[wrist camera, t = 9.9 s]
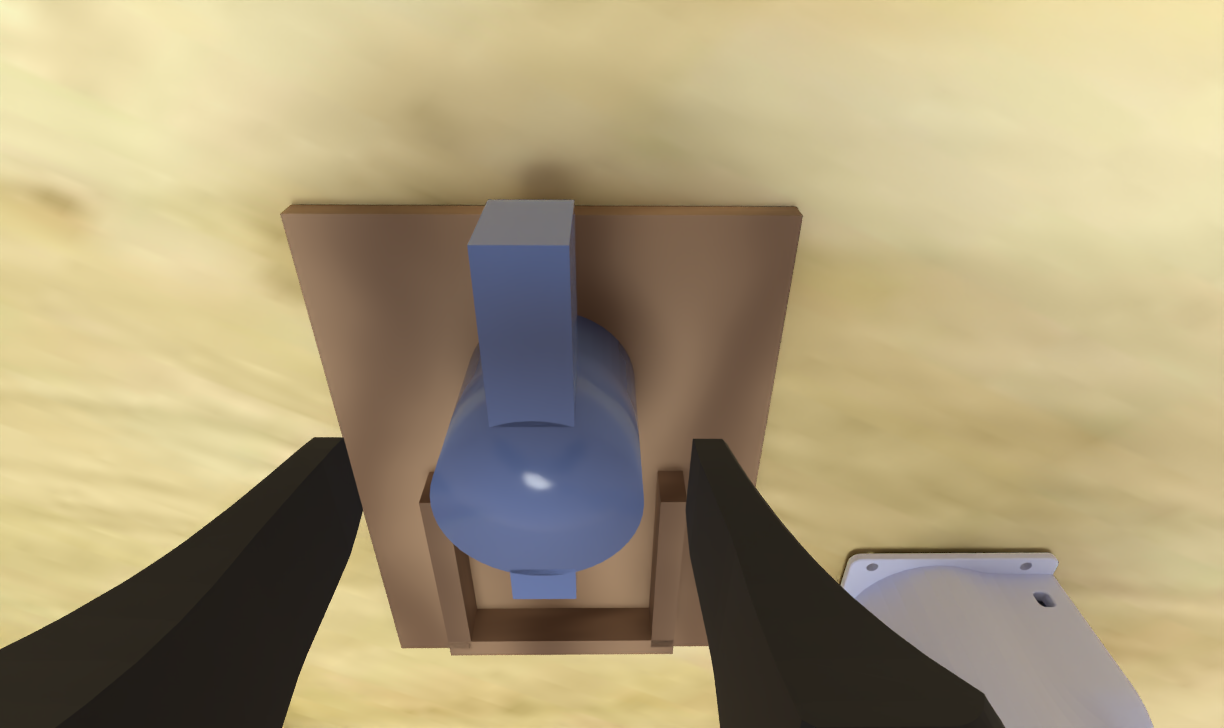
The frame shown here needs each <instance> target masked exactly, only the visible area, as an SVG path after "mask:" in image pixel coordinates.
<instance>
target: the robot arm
mask: <svg viewBox="0 0 1224 728" xmlns="http://www.w3.org/2000/svg"><path fill="white" fill-rule="evenodd" d="M685 511H686V522H687V534H688V544H689V554H690V559H691V564H692V569H693V574H694V578H695V583H696V588H697V593H698V597H699V602H700V607H701V611H702V616H703V621H704V625H705V630H706V635H707V640H708V644H709V649H710V654H711V660H712V665H713V671H714V678H715V687H716V695H717V704H718V713H719V721H720V728H1154V727H1153V724H1152V721H1151V719H1150V717H1149V714H1148V712H1147V710H1146V708H1145V706H1144V704H1143V702H1142V700H1141V698H1140V696H1139V695H1138V693H1137V692H1136V690H1135V689H1134V687H1133V685H1132V684H1131V683H1130V681H1129V680H1128V678H1127V677H1126V676H1125V674H1124V673H1123V671H1122V670H1121V669H1120V667H1119V666H1118V664H1117V663H1116V662H1115V660H1114V659H1113V658H1112V656H1111V655H1110V653H1109V652H1108V651H1107V649H1106V648H1105V646H1104V645H1103V644H1102V642H1101V641H1100V639H1099V638H1098V637H1097V635H1096V634H1095V632H1094V631H1093V630H1092V628H1091V627H1090V625H1089V624H1088V623H1087V621H1086V620H1085V619H1084V617H1083V616H1082V614H1081V613H1080V612H1079V610H1078V609H1077V607H1076V606H1075V605H1074V603H1073V602H1072V600H1071V599H1070V598H1069V596H1068V595H1067V593H1066V592H1065V591H1064V589H1063V588H1062V587H1061V585H1060V584H1059V582H1058V581H1057V580H1056V578H1055V577H1054V575H1053V574H1054V572H1055V570H1056V568H1057V566H1058V564H1059V562H1058V560H1057V558H1056V557H1055V556H1054V555H1053V554H1052V553H872V554H856V555H853V556H852V557H850V558H849V560H848V562H847V566H846V569H845V572H844V575H843V579H842V582H841V585H839V584H838V583H837V582H836V581H835V580H834V579H833V578H832V577H831V576H830V575H829V574H828V573H827V572H826V571H825V570H824V569H823V568H822V567H821V566H820V565H819V564H818V563H817V562H816V561H815V560H814V559H813V558H812V556H811V555H810V554H809V553H808V552H807V551H806V550H805V549H804V548H803V547H802V546H801V544H800V543H799V542H798V541H797V540H796V539H795V537H794V536H793V535H792V534H791V533H790V532H789V530H788V529H787V528H786V527H785V526H784V524H783V523H782V522H781V521H780V519H779V518H778V517H777V516H776V514H775V513H774V512H773V510H772V509H771V508H770V506H769V505H768V504H767V502H766V501H765V500H764V499H763V497H762V496H761V495H760V493H759V492H758V490H757V489H756V488H755V486H754V485H753V483H752V482H751V480H750V479H749V478H748V476H747V475H746V473H745V472H744V470H743V469H742V467H741V466H740V464H739V463H738V461H737V459H736V458H735V456H734V455H733V453H732V451H731V450H730V448H729V446H728V445H727V443H726V442H725V441H724V440H723V439H693V441H692V451H691V461H690V470H689V480H688V490H687V499H686V509H685ZM362 512H363V507H362V503H361V500H360V496H359V492H358V489H357V485H356V481H355V478H354V474H353V470H352V467H351V463H350V459H349V455H348V452H347V448H346V444H345V441H344V438H339V437H314V438H313V439H311V440H310V441H309V442H308V443H306V444H305V445H304V446H303V447H301V448H300V449H299V450H298V451H297V452H295V453H294V454H293V455H292V456H291V457H289V458H288V459H287V460H286V461H285V462H284V463H282V464H281V465H280V466H279V467H278V468H277V469H275V470H274V471H273V472H272V473H271V474H269V475H268V476H267V477H266V478H265V479H263V480H262V481H261V482H260V483H259V484H257V485H256V486H255V487H254V488H253V489H251V490H250V491H249V492H248V493H247V494H245V495H244V496H243V497H242V498H241V499H239V500H238V501H237V502H236V503H234V504H233V505H232V506H231V507H229V508H228V509H227V510H226V511H224V512H223V513H222V514H220V515H219V516H218V517H216V518H215V519H214V520H212V521H211V522H210V523H208V524H207V525H206V526H205V527H203V528H202V529H201V530H199V531H198V532H197V533H195V534H194V535H193V536H191V537H190V538H189V539H188V540H186V541H185V542H183V543H182V544H181V545H179V546H178V547H176V548H175V549H173V550H172V551H171V552H169V553H168V554H166V555H165V556H163V557H162V558H160V559H159V560H157V561H156V562H154V563H153V564H151V565H150V566H148V567H147V568H145V569H143V570H142V571H140V572H139V573H137V574H136V575H134V576H133V577H131V578H130V579H128V580H126V581H125V582H123V583H121V584H120V585H118V586H116V587H115V588H113V589H111V590H109V591H108V592H106V593H104V594H102V595H101V596H99V597H97V598H96V599H94V600H92V601H90V602H89V603H87V604H85V605H84V606H82V607H80V608H78V609H77V610H75V611H73V612H71V613H70V614H68V615H66V616H64V617H62V618H61V619H59V620H57V621H55V622H53V623H51V624H49V625H47V626H45V627H43V628H42V629H40V630H38V631H36V632H34V633H32V634H30V635H28V636H26V637H24V638H22V639H20V640H18V641H16V642H14V643H12V644H10V645H8V646H6V647H4V648H2V649H0V728H282V726H283V723H284V720H285V717H286V714H287V711H288V707H289V704H290V701H291V698H292V695H293V692H294V689H295V686H296V683H297V679H298V677H299V674H300V671H301V669H302V666H303V664H304V661H305V659H306V656H307V653H308V651H309V649H310V647H311V644H312V642H313V640H314V638H315V635H316V633H317V631H318V628H319V626H320V624H321V622H322V619H323V617H324V615H325V612H326V610H327V608H328V606H329V603H330V601H331V599H332V597H333V594H334V592H335V590H336V587H337V585H338V583H339V580H340V578H341V576H342V573H343V571H344V569H345V566H346V564H347V562H348V559H349V557H350V554H351V551H352V548H353V544H354V541H355V538H356V534H357V531H358V527H359V523H360V519H361V516H362Z"/></svg>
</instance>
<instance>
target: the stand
mask: <svg viewBox="0 0 1224 728" xmlns="http://www.w3.org/2000/svg"><path fill="white" fill-rule="evenodd" d="M484 207H485V206H436V205H290V206H289V207H288V208H287V209H285V210H284V211H283V212H282V213H281V214H280V215H281V218H282V222H283V225H284V229H285V233H286V236H287V240H288V243H289V247H290V250H291V254H292V258H293V261H294V265H295V268H296V272H297V275H298V279H299V283H300V286H301V290H302V293H303V297H304V301H305V304H306V308H307V311H308V315H309V318H310V322H311V326H312V329H313V333H314V336H315V340H316V343H317V347H318V351H319V354H320V358H321V361H322V365H323V368H324V372H325V376H326V379H327V383H328V386H329V390H330V394H331V397H332V401H333V404H334V408H335V411H336V415H337V419H338V422H339V426H340V429H341V433H342V436H343V438H344V441H345V444H346V448H347V452H348V455H349V459H350V463H351V467H352V470H353V474H354V478H355V481H356V485H357V489H358V492H359V496H360V500H361V503H362V507H363V512H364V515H365V519H366V522H367V526H368V529H369V533H370V537H371V540H372V544H373V547H374V551H375V555H376V558H377V562H378V565H379V569H380V572H381V576H382V580H383V583H384V587H385V590H386V594H387V597H388V601H389V605H390V608H391V612H392V615H393V619H394V623H395V626H396V630H397V633H398V637H399V640H400V644H401V648H450V652H451V655H566V654H673V646H709V644H708V640H707V635H706V630H705V625H704V621H703V616H702V611H701V607H700V602H699V597H698V593H697V588H696V583H695V578H694V574H693V569H692V564H691V559H690V554H689V544H688V534H687V522H686V511H685V509H686V499H687V490H688V480H689V470H690V461H691V451H692V441H693V439H723V440H724V441H725V442H726V443H727V445H728V446H729V448H730V450H731V451H732V453H733V455H734V456H735V458H736V459H737V461H738V463H739V464H740V466H741V467H742V469H743V470H744V472H745V473H746V475H747V476H748V478H749V479H750V480H751V482H752V483H753V485H754V486H756V481H757V475H758V469H759V463H760V458H761V452H762V446H763V441H764V435H765V429H766V423H767V418H768V412H769V406H770V400H771V395H772V389H773V383H774V378H775V372H776V366H777V360H778V355H779V349H780V343H781V338H782V332H783V326H784V320H785V315H786V309H787V303H788V297H789V292H790V286H791V280H792V275H793V269H794V263H795V257H796V252H797V246H798V240H799V234H800V229H801V223H802V217H803V215H802V214H801V213H800V211H799V210H798V208H797V207H708V206H574V214H575V256H576V298H577V315H579V316H582V317H584V318H587V319H589V320H591V321H593V322H595V323H597V324H599V325H600V326H602V327H603V328H605V329H606V330H607V331H609V332H610V333H611V334H612V335H613V336H614V337H615V338H616V339H617V340H618V341H619V342H620V343H621V345H622V346H623V347H624V349H625V350H626V352H627V354H628V356H629V358H630V360H631V363H632V366H633V370H634V375H635V388H636V401H637V414H638V427H639V440H640V453H641V466H642V480H643V493H644V509H643V516H642V519H641V522H640V525H639V527H638V528H637V530H636V532H635V534H634V535H633V537H632V538H631V539H630V541H629V542H628V543H627V544H626V545H625V546H624V547H623V548H622V549H621V550H620V551H618V552H617V553H616V554H615V555H613V556H612V557H610V558H608V559H607V560H605V561H603V562H601V563H599V564H597V565H595V566H593V567H590V568H587V569H584V570H581V571H577V596H576V599H513V595H512V586H511V577H510V572H506V571H503V570H500V569H496V568H493V567H491V566H488V565H486V564H483V563H481V562H479V561H477V560H475V559H474V558H472V557H470V556H469V555H467V554H466V553H464V552H463V551H461V550H460V549H459V548H458V547H456V546H455V545H454V544H453V543H452V542H451V541H450V540H449V539H448V538H447V537H446V535H445V534H444V533H443V531H442V530H441V529H440V527H439V526H438V524H437V522H436V519H435V517H434V515H433V512H432V508H431V503H430V485H431V482H432V478H433V474H434V471H435V468H436V465H437V462H438V459H439V455H440V452H441V449H442V446H443V443H444V440H445V437H446V434H447V430H448V427H449V424H450V421H451V418H452V415H453V412H454V409H455V405H456V402H457V399H458V396H459V393H460V390H461V387H462V383H463V380H464V377H465V374H466V371H467V368H468V365H469V362H470V358H471V356H472V354H473V352H474V349H475V348H476V346H477V345H478V343H479V339H478V330H477V322H476V314H475V306H474V297H473V289H472V281H471V272H470V264H469V256H468V247H467V245H468V242H469V240H470V238H471V236H472V233H473V231H474V229H475V227H476V225H477V222H478V220H479V218H480V216H481V214H482V211H483V209H484Z"/></svg>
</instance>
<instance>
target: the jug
mask: <svg viewBox="0 0 1224 728" xmlns="http://www.w3.org/2000/svg"><path fill="white" fill-rule="evenodd" d="M467 247H468V256H469V264H470V272H471V281H472V289H473V297H474V306H475V314H476V322H477V330H478V339H479V343H478V345H477V346H476V348H475V349H474V352H473V354H472V356H471V358H470V362H469V365H468V368H467V371H466V374H465V377H464V380H463V383H462V387H461V390H460V393H459V396H458V399H457V402H456V405H455V409H454V412H453V415H452V418H451V421H450V424H449V427H448V430H447V434H446V437H445V440H444V443H443V446H442V449H441V452H440V455H439V459H438V462H437V465H436V468H435V471H434V474H433V478H432V482H431V485H430V503H431V508H432V512H433V515H434V517H435V519H436V522H437V524H438V526H439V527H440V529H441V530H442V531H443V533H444V534H445V535H446V537H447V538H448V539H449V540H450V541H451V542H452V543H453V544H454V545H455V546H456V547H458V548H459V549H460V550H461V551H463V552H464V553H466V554H467V555H469V556H470V557H472V558H474V559H475V560H477V561H479V562H481V563H483V564H486V565H488V566H491V567H493V568H496V569H500V570H503V571H506V572H510V577H511V586H512V595H513V599H576V596H577V571H581V570H584V569H587V568H590V567H593V566H595V565H597V564H599V563H601V562H603V561H605V560H607V559H608V558H610V557H612V556H613V555H615V554H616V553H617V552H618V551H620V550H621V549H622V548H623V547H624V546H625V545H626V544H627V543H628V542H629V541H630V539H631V538H632V537H633V535H634V534H635V532H636V530H637V528H638V527H639V525H640V522H641V519H642V516H643V509H644V493H643V480H642V466H641V453H640V440H639V427H638V414H637V401H636V388H635V375H634V370H633V366H632V363H631V360H630V358H629V356H628V354H627V352H626V350H625V349H624V347H623V346H622V345H621V343H620V342H619V341H618V340H617V339H616V338H615V337H614V336H613V335H612V334H611V333H610V332H609V331H607V330H606V329H605V328H603V327H602V326H600V325H599V324H597V323H595V322H593V321H591V320H589V319H587V318H584V317H582V316H579V315H577V298H576V256H575V214H574V200H487V202H486V205H485V207H484V209H483V211H482V214H481V216H480V218H479V220H478V222H477V225H476V227H475V229H474V231H473V233H472V236H471V238H470V240H469V242H468V245H467Z"/></svg>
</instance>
